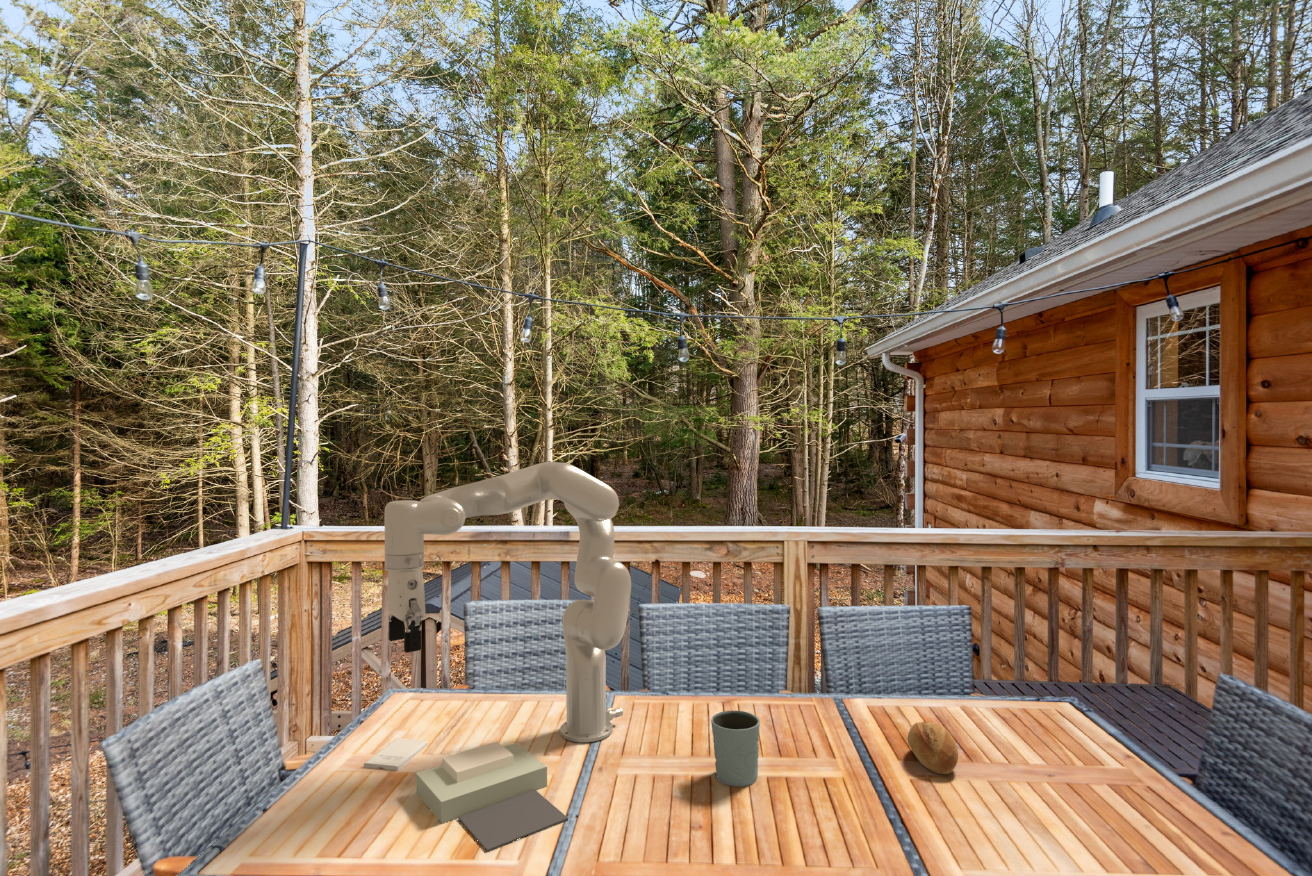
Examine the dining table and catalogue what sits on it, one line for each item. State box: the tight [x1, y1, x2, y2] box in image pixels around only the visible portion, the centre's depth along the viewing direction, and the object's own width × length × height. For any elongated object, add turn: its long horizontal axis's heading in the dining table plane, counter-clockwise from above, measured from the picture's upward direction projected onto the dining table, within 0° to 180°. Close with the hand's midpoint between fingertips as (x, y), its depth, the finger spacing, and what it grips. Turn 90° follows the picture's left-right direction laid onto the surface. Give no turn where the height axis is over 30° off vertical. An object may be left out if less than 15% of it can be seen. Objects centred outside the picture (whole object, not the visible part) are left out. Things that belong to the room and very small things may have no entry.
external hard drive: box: [363, 737, 429, 771], centre depth 155 cm, size 2×8×12 cm
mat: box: [457, 790, 569, 853], centre depth 129 cm, size 16×13×1 cm
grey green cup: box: [710, 710, 761, 788], centre depth 145 cm, size 10×10×12 cm
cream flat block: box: [441, 741, 514, 783], centre depth 142 cm, size 12×8×2 cm, turn 128°
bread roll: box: [906, 720, 959, 775], centre depth 151 cm, size 10×15×8 cm, turn 176°
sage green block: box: [415, 742, 548, 824], centre depth 140 cm, size 22×14×4 cm, turn 128°
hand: (404, 645), depth 141 cm, fingers open, 9 cm apart
